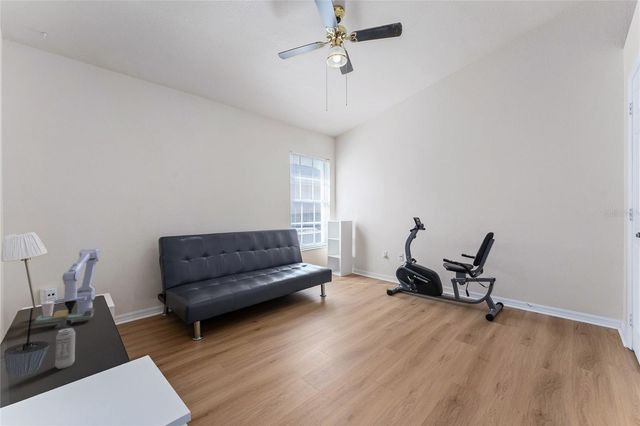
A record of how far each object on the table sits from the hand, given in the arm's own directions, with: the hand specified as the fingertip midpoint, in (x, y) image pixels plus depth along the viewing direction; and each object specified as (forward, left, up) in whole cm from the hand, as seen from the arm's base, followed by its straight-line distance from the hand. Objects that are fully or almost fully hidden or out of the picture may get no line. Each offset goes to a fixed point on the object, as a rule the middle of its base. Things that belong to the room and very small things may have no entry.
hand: (70, 313), depth 164 cm
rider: (0, -4, -2) cm, 4 cm away
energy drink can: (+64, +15, -6) cm, 66 cm away
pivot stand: (0, -2, -6) cm, 7 cm away
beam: (0, -2, -2) cm, 3 cm away
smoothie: (-23, -17, -6) cm, 29 cm away
